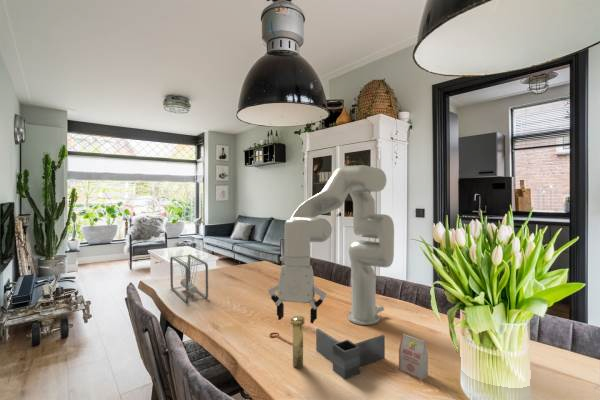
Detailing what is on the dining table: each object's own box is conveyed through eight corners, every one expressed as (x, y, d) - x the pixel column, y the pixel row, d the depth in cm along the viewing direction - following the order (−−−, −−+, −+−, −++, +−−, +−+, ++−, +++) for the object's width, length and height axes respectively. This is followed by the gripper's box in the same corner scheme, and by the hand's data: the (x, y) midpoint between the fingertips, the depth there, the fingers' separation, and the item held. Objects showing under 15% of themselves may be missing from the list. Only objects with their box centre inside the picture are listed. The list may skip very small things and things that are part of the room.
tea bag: (405, 365, 93) (405, 331, 93) (427, 375, 88) (428, 339, 88) (398, 370, 90) (399, 335, 90) (421, 380, 85) (421, 343, 85)
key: (308, 347, 106) (279, 332, 117) (308, 344, 106) (280, 329, 117) (295, 351, 102) (267, 335, 113) (295, 348, 102) (267, 333, 113)
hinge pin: (300, 360, 96) (300, 314, 95) (307, 366, 92) (307, 319, 92) (288, 364, 94) (288, 317, 93) (295, 370, 90) (295, 322, 90)
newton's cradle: (208, 299, 152) (208, 262, 152) (186, 304, 146) (185, 265, 146) (190, 285, 176) (189, 253, 176) (170, 288, 170) (170, 255, 170)
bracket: (352, 339, 110) (352, 317, 109) (390, 361, 95) (390, 337, 94) (310, 352, 101) (310, 328, 101) (344, 379, 86) (344, 352, 86)
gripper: (264, 262, 91) (264, 321, 91) (324, 265, 86) (323, 328, 86) (273, 257, 98) (272, 312, 98) (328, 260, 94) (327, 318, 94)
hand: (296, 319), depth 92 cm, fingers open, 9 cm apart
